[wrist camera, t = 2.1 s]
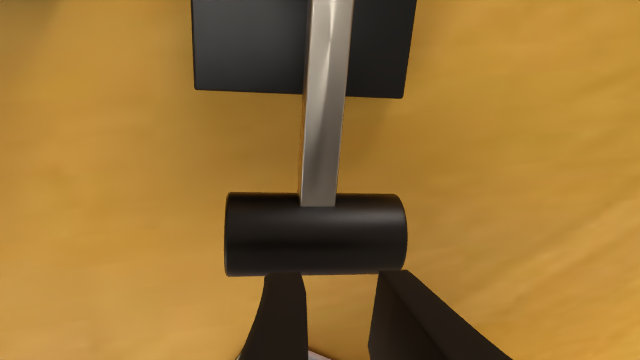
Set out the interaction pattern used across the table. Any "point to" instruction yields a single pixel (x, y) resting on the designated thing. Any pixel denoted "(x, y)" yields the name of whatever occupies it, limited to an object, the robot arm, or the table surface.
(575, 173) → the table surface
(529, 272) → the table surface
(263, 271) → the lever
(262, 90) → the bracket
